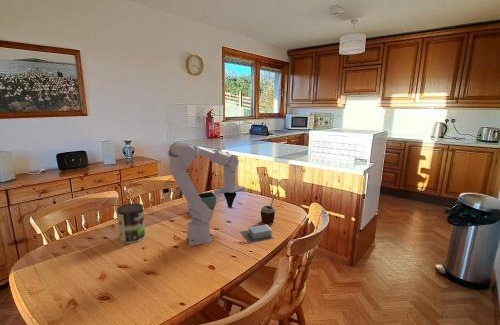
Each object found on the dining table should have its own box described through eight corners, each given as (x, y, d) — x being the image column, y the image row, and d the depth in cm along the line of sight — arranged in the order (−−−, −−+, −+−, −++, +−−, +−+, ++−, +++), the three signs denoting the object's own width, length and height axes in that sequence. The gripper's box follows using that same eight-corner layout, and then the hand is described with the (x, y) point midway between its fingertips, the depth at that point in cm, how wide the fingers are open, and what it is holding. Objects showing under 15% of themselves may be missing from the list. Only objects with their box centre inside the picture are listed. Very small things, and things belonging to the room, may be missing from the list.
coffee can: (150, 233, 118) (148, 204, 115) (136, 244, 108) (133, 213, 105) (130, 230, 120) (127, 202, 117) (114, 241, 110) (111, 211, 107)
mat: (248, 244, 110) (248, 243, 110) (239, 232, 120) (239, 231, 120) (273, 239, 114) (273, 238, 114) (263, 228, 124) (263, 227, 124)
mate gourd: (259, 224, 128) (260, 196, 125) (262, 218, 136) (263, 190, 132) (274, 226, 126) (275, 197, 123) (276, 219, 134) (277, 192, 131)
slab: (253, 233, 113) (272, 230, 116) (248, 227, 118) (266, 224, 121) (253, 239, 113) (272, 235, 117) (248, 232, 119) (266, 229, 122)
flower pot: (197, 208, 146) (196, 193, 144) (212, 206, 150) (212, 191, 148) (201, 214, 139) (200, 198, 137) (216, 211, 142) (216, 196, 140)
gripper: (216, 183, 113) (216, 212, 116) (247, 180, 118) (246, 208, 121) (212, 179, 120) (213, 206, 123) (242, 176, 125) (241, 203, 128)
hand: (229, 207), depth 122 cm, fingers closed
